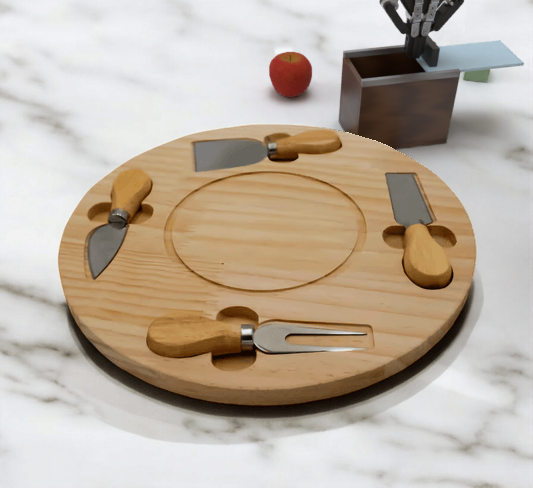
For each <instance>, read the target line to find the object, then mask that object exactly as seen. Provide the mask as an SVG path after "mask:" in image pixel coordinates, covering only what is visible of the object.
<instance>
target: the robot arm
mask: <svg viewBox="0 0 533 488" xmlns="http://www.w3.org/2000/svg"><path fill="white" fill-rule="evenodd" d="M399 1H400V3H401V5H402V7H403V9H405V21H404V20H403V18H402V17H401V16H400V14H399V13H398V10H399V7H400V5H399ZM378 2H379V5H380V6H381V8H382V9H383V11H384V12H385V13H386V15H387V16H388V18H389V19H390V21H391V23H393V25H394V27H395V28H396V29H397V30H398V32H399V33H400V34H401V35H405V38H404V44H403V45H404V52H405V53H406V54H407V56H408V57H409V58H410V59H419V58H420V55H422V54H423V53H424V49H425V43H426V37H427V35H429V34H430V33H432V32H436V33H437V32H440V30H441V29H442V28H443V27H444V26H445V25H446V23H448V21H450V19H451V18H452V17H453V16H454V14H456V12H457V11H458V10H459V9H460V8H461V6H462V5H464V2H465V0H379V1H378Z"/></svg>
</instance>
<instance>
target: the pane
mask: <svg viewBox="0 0 533 488" xmlns="http://www.w3.org/2000/svg"><path fill="white" fill-rule="evenodd" d="M435 42H436V41H434V39H432V38H431V36H429V34H428V35H427V37H426V43H425V49H424V53H423V54H422V55H420V58H419V59H416V60H417V61H418V62H419V64H420V65H421V66H422V67H423V69H424V70H425V71H426V72H432V71H441V70H451V69H460V71H461V72H460V73H464V72H469V71H478V70H487V69H490V70H494V69H496V70H497V69H504V68H514V67H523V66H524V65H525V62H524V61H523V60H522V59H521V58H520V57H519V56H518V55H517V54H515V53H514V52H513V51H512V50H511V49H510V48H509V47H508V46H507V45H506V44H505V43H504V42H502V40H500V39H499V40H489V41H480V42H479V41H478V42H469V43H459V44H450V45H440V46H438V45H437V43H435Z"/></svg>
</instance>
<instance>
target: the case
mask: <svg viewBox="0 0 533 488" xmlns="http://www.w3.org/2000/svg"><path fill="white" fill-rule="evenodd" d="M434 42H435V43H436V41H434ZM436 44H437V43H436ZM341 63H342V65H341V79H340V95H339V109H338V122H339V124H340V126H341V128H342V130H343V132H344V131H345V132H349V133H352V134H355V135H359V136H362V137H365V138H369V139H372V140H376V141H378V142H381V143H383V144H386V145H388V146H390V147H392V148H394V149H393V150H399V149H400V150H401V149H407V148H408V149H409V148H416V147H424V146H432V145H440V144H447V142H448V136H449V133H450V127H451V122H452V117H453V112H454V107H455V102H456V97H457V91H458V87H459V86H458V85H459V82H460V78H461V73H462V72H461V71H460V69H451V70H441V71H432V72H426V71H425V70H424V69H423V67H422V66H421V65H420V64H419V62H418V61H417V60H416V59H410V58H409V57H408V56H407V54H406V53H405V52H404V44H398V45H397V44H396V45H388V46H387V45H386V46H378V47H366V48H357V49H347V50H346V49H345V50H343V51H342V62H341ZM345 132H344V133H345Z"/></svg>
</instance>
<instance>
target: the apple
mask: <svg viewBox="0 0 533 488" xmlns="http://www.w3.org/2000/svg"><path fill="white" fill-rule="evenodd" d="M268 75H269V79H270V82H271V85H272V88H273V89H274V90H275V92H276V93H277V94H278V95H279V94H280V95H281V96H283V97H284V98H285V97H286V98H294V97H298V96H300V95H303V94H305V92H306V91H307V90H308V88H309V87H310V84H311V83H312V79H313V66H312V63H311V62H310V60H309V59H308V57H306V56H305V55H304V54H302V53H301V52H295V51H285V52H281V53H278V54H276V55H275V56H274V57H273V58H272V59H271V60H270V63H269V66H268Z"/></svg>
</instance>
